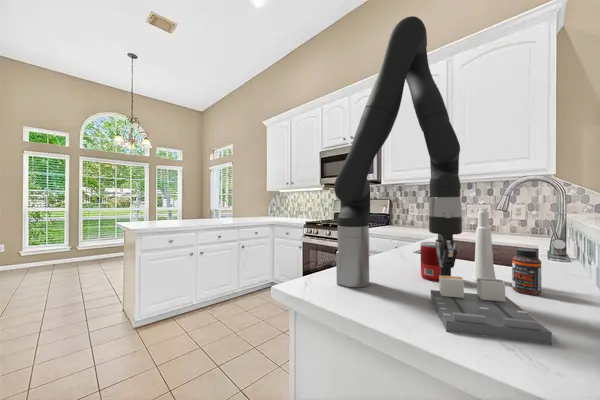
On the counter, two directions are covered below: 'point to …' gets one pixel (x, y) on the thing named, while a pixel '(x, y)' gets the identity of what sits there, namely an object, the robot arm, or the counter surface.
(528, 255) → the supplement bottle
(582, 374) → the counter surface
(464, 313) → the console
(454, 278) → the fader
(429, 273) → the canned food
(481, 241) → the cosmetic bottle
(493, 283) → the fader
